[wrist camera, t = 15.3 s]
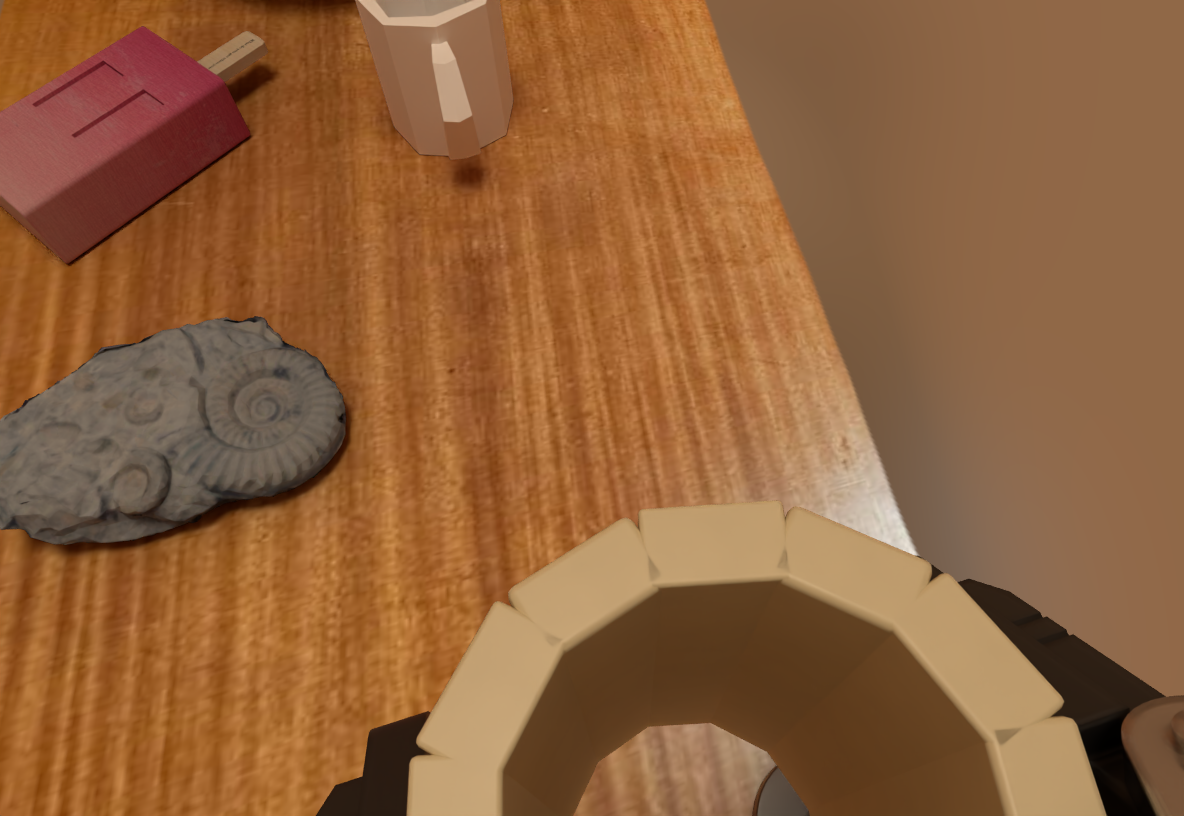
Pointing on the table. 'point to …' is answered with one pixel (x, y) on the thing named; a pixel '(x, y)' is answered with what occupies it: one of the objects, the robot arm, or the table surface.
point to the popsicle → (117, 136)
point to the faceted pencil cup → (751, 675)
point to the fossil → (167, 433)
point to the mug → (441, 71)
